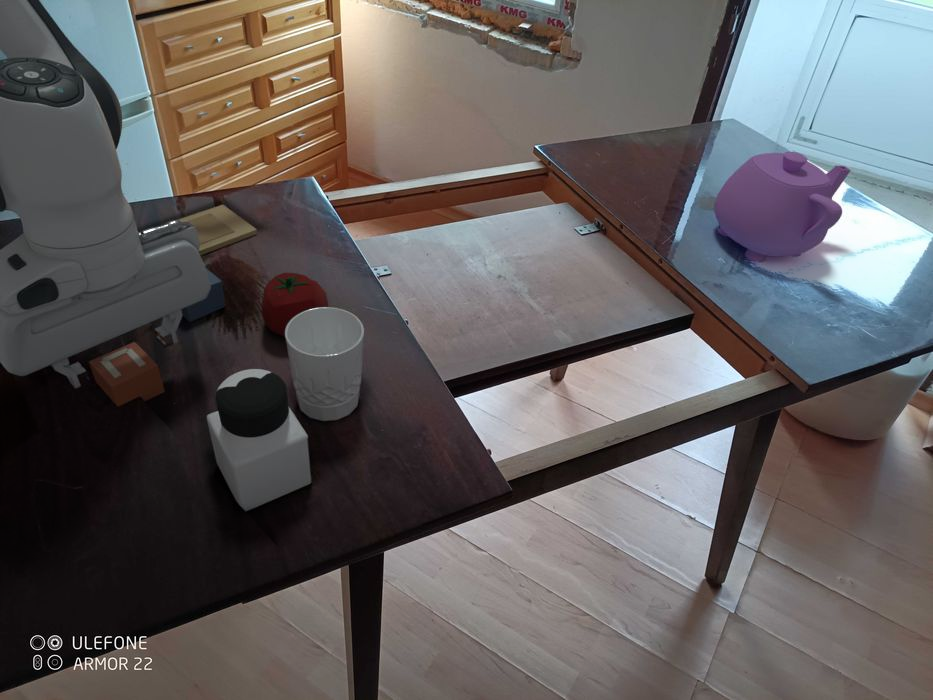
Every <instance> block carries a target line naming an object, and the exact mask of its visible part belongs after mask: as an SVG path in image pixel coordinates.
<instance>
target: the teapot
mask: <svg viewBox="0 0 933 700" xmlns="http://www.w3.org/2000/svg"><path fill="white" fill-rule="evenodd" d="M851 171H852V169H850V168H849V167H847V166H845V165H834V167H832V168H831V169H830V170H829V171H828V172H826V173H825V171H823V170H822V169H821V168H820V167H818V166H817V165H815V164H814V163H812V162H810V161H808V157H806V156H805V155H804V154H802V153H800V152H796V151H785V152H767V153H759V154H756V155H753V156H751V157H749V158H748V160H746V161H745V162H744V163H743V164H742V165H740V166H739V168H737V169H736V170H735V171H734V172H733V173H732V174H731V176H729V177H728V179H727V180H726V181H725V183H724V184H723V185H722V187H721V188H720V190H719V191H718V193H717V195H716V198H715V200H714V202H713V211H714V215H715V218H716V221H717V224H718V225H719V227H718V228H717V233H718V234H719V235H721V236H723V237H725V238H726V237H727V238H730V239H732V240H733V241H734V242H735V243H737V244H739V245H740V246H742V247H744V248H745V249H746V251H745V252H744V256H745V258H746V259H748V260H749V261H752V262H756V263H762V262H765V258H766V256H769V257H795V258H796V257H800V256H801V255H802V254H803V253H806V252H808V251H810V250H812V249H813V248H815V247H817V246H818V245H820V244H821V243H822V242H824V240H825V238H826V236H827V234H828V231H829V230H830V229H831V228H833V226H835V225H836V224H837V223H838V222H839V220H840V219H841V217H842V215H843V208H842V206H841V205H840V204H839V203H838V202H837V201H835V200H833V197H834V195H835V194H836V192H837V191H838V190H839V188H840V187H841V186H842V184H843V183H844V181H845V180H846V178H847V177H848V175H849V174H850V172H851Z"/></svg>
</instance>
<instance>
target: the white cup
mask: <svg viewBox="0 0 933 700" xmlns="http://www.w3.org/2000/svg"><path fill="white" fill-rule="evenodd" d="M364 336H365V328H364V325H363V323H362V321H361V320H360V318H358V316H356V315H355V314H353V313H352V312H350V311H348V310H346V309H342V308H338V307H332V306H331V307H330V306H328V307H320V308H313V309H309V310H306V311H304V312H301V313H299V314H298V315H296V316H295V317H293V318H292V319H291V320H290V321H289V323H288V324H287V326H286V329H285V337H284V338H285V343H286V349H287V355H288V362H289V368H290V372H291V373H290V374H291V378H292V383H293V384H292V385H293V388H294V390H295V395H296V401H297V404H298V407H299V410H300V411H301V412H302V413H303V414H304V415H306V416H307V417H308V418H310V419H314V420H317V421H321V422H331V421H338V420H341V419H342V418H345V417H347V416H350V414H352V412H353V411H355V409H356V408H357V407H358V405H359V401H360V400H359V399H360V395H361V394H360V393H361V392H360V391H361V385H362V374H363V373H362V372H363V362H364V361H363V356H364V339H365V337H364Z"/></svg>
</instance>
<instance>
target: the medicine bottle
mask: <svg viewBox="0 0 933 700" xmlns="http://www.w3.org/2000/svg"><path fill="white" fill-rule="evenodd" d="M288 396H289V395H288V389H287V384H286V382H285V381H284V380H283V379H282V377H281V376H279V375H278V374H276V373H274V372H272V371H270V370H266V369H261V368H249V369H244V370H240V371H238V372H235V373H232V374H231V375H229V376H228V377H227V378H225V379H224V380H223V381H222V382H221V383H220V384H219V386H218V387H217V390H216V392H215V402H216V407H217V411H213V412H211V413H209V414H207V415H206V421H207V426H208V431H209V435H210V439H211V444H212V449H213V453H214V458H215V461H216V464H217V467H218V468H219V470H220V472H221V475H222V477H223V478H224V481H225V482H226V484H227V486H228V488H229V491H230V492H231V494H232V496H233V498H234V500H235V502H236V503H237V504H238V505H239V506H240V508H242V510H244V512H248V511H251V510H253V509H256V508H258V507H260V506H262V505H265V504H267V503H269V502H272V501H274V500H276V499H278V498H281V497H283V496H285V495H288V494H291V493H292V492H295V491H297V490H299V489H301V488H304V487H307V486H308V485H310V484H311V483H312V481H313V479H312V467H311V455H310V443H309V435H308V433H307V432H306V430H305V429H304V428H303V426H302V424H301V423H300V421H299V420H298V419H297V416H296V415H295V413H294V412H293V411H292V409H291V408H290V405H289V397H288Z"/></svg>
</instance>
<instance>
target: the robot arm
mask: <svg viewBox="0 0 933 700" xmlns="http://www.w3.org/2000/svg"><path fill="white" fill-rule="evenodd" d="M0 51H1V53H3V55H4V56H5V58H3V59H0V213H2V212H4V211H8V212H12V213H14V214H15V215H17V216H18V218H19V219H20V222H21V226H22V232H23V233H22V234H21V235H19V236H18V237H17V238H15V239H14V240H12V241H11V242H10V243H8V244H7V245H5V246H4V247H2V248H1V249H0V364H1V365H2V366H3V368H4V369H5V370H6V371H7V372H8V373H9V374H13V375H16V376H18V377H25V376H26V377H27V376H28V375H31V374H33V373H35V372H37V371H40V370H42V369H44V368H47V367H49V366H51V367H52V369H53V370H54V371H55V372H57V373H59V374H62V375H63V376H66V378H67V380H68V381H69V383H70V384H71V386H72V387H73V388H74V389H78V388H80V387H83V386H85V385H87V384H89V383H91V379H90V378H89V374H88V372H87V370H86V369H85V368H84V367H83V365H82V364H81V363H80V362H79V361H77V362H75V363H72V364H70V361H69V358H71V357H72V356H75V355H77V354H79V353H82V352H84V351H87V350H88V349H91V348H93V347H95V346H98V345H101V344H103V343H105V342H108V341H110V340H112V339H114V338H117V337H119V336H121V335H124V334H126V333H128V332H131V331H133V330H136V329H138V328H140V327H143V326H145V325H147V324H150V323H152V322H155V321H157V320H160V319H161V318H162V322H161V325H160V326H157V327H155V328H154V333H155V335H156V339H157V341H158V343H159V344H160V345H162V347H163V348H164V349H166V348H168V347H170V346H173V345H175V344H177V343H179V340H178V335H177V332H176V331H177V330H178V328H179V326H180V323H181V321H182V319H183V317H184V316H183V315H182V311H181V309H183V308H185V307H188V306H190V305H192V304H195V303H197V302H199V301H202V300H204V299H206V298H207V296H208V294H209V292H210V289H211V285H210V281H209V277H208V274H207V271H206V268H207V267H206V266H205V264H204V260H203V259H202V257H201V256H202V255H200V254H199V252H198V251H199V248H200V241H199V236H198V232H197V229H196V228H195V226H194V225H193V224H191V223H189V222H181V221H180V220H179V219H172V220H169V221H167V222H165V223H164V224H161V225H157V226H152V227H149V228H146V229H142V230H140V231H139V229H138V226H137V223H136V219H135V216H134V211H133V209H132V206H131V204H130V203H129V202H128V200H127V199H126V197H125V195H124V193H123V188H122V178H123V177H122V175H123V174H122V173H123V172H122V166H121V163H120V160H119V156H118V152H117V149H118V147H119V144H120V140H121V136H122V130H123V113H122V106H121V103H120V100H119V98H118V96H117V94H116V92H115V90H114V88H113V87H112V85H111V84H110V83H109V81H108V80H107V79H106V78H105V77H104V76H103V75H102V74H101V72H100V71H99V70H98V69H97V68H96V67H95V66H94V64H92V63H91V61H89V60H88V59H87V58H86V57H85V56H84V55H83V54H82V53H81V52H80V51H79V50H78V48H77V47H75V45H74V44H73V43H72V42H71V41H70V39H69V37H67V36H66V34H65V33H64V32H63V30H62V29H61V28H60V26H59V24H57V22H56V21H55V20H54V18H53V17H52V16H51V14H50V13H49V12H48V10H47V9H46V7H45V6H44V5H43V3H42V2H41V0H0Z"/></svg>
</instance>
